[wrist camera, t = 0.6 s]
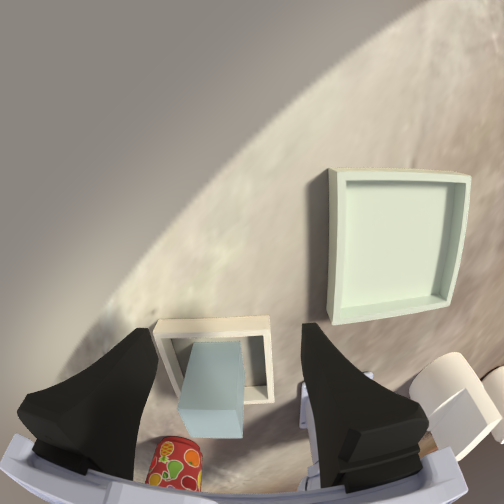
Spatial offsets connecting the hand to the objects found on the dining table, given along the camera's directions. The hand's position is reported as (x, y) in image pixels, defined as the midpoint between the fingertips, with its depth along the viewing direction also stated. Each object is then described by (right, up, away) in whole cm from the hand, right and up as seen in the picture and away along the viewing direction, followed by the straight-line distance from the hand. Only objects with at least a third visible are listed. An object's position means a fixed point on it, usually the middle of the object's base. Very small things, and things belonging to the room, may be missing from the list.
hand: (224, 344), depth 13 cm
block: (-2, -6, +14) cm, 15 cm away
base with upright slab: (+26, -12, +16) cm, 33 cm away
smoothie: (-9, -24, +21) cm, 34 cm away
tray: (+13, +5, +9) cm, 17 cm away
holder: (-2, -6, +14) cm, 15 cm away
